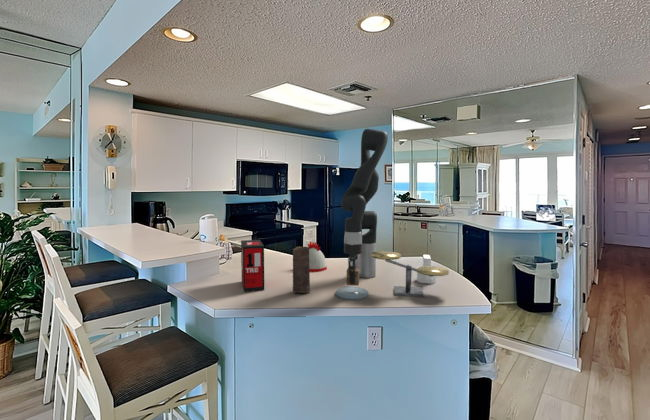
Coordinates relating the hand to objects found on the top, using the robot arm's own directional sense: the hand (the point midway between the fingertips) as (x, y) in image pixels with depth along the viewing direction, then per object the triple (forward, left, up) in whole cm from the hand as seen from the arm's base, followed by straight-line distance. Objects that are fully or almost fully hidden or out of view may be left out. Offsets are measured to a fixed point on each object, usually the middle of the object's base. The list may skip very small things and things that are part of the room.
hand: (352, 281), depth 149 cm
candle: (-17, -14, -6) cm, 23 cm away
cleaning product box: (-40, -24, -6) cm, 47 cm away
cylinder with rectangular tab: (+11, +42, -6) cm, 44 cm away
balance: (+15, +20, -6) cm, 25 cm away
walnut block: (0, 0, -1) cm, 1 cm away
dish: (0, 0, -6) cm, 6 cm away
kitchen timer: (-44, +18, -6) cm, 48 cm away
